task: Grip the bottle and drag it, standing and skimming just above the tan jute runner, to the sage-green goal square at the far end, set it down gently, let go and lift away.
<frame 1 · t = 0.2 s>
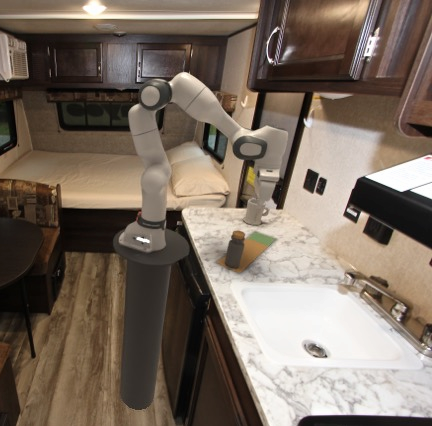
hand: (257, 203, 116), 26 cm above the worktop, tool pointing down, fingers open, 8 cm apart
cup: (253, 222, 160), on the worktop
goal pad: (261, 238, 143), on the worktop
runner: (243, 254, 130), on the worktop
bottle: (231, 264, 122), resting on runner
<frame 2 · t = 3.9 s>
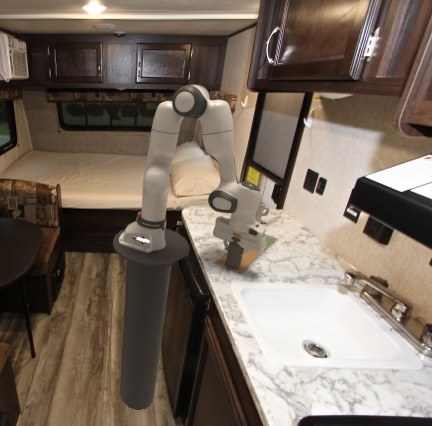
hand: (234, 253, 120), 6 cm above the worktop, tool pointing down, fingers closed on bottle, 5 cm apart
bottle: (232, 265, 122), resting on runner, touching gripper
everything else where it was.
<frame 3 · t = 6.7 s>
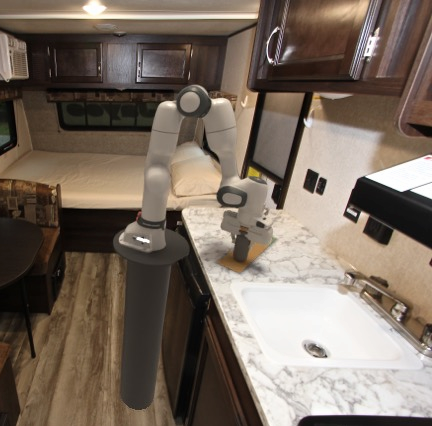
hand: (241, 245, 123), 7 cm above the worktop, tool pointing down, fingers closed on bottle, 5 cm apart
bottle: (239, 257, 125), point 1 cm above the worktop, touching gripper
everything else where it was.
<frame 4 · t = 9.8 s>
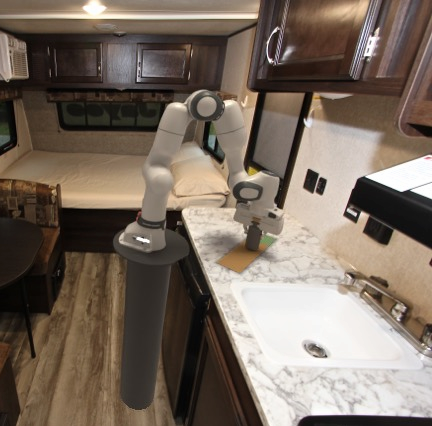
hand: (253, 236, 131), 7 cm above the worktop, tool pointing down, fingers closed on bottle, 5 cm apart
bottle: (251, 247, 133), point 1 cm above the worktop, touching gripper
everything else where it was.
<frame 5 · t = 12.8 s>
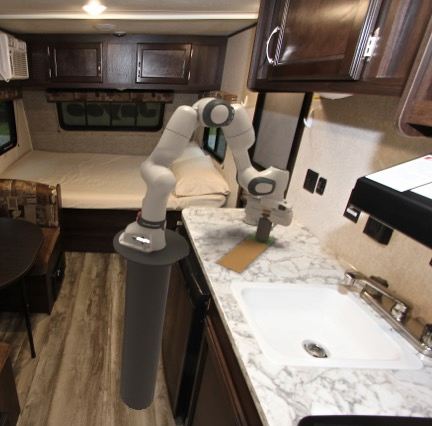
hand: (263, 227, 139), 7 cm above the worktop, tool pointing down, fingers closed on bottle, 5 cm apart
bottle: (261, 238, 141), point 1 cm above the worktop, touching gripper
everything else where it was.
when the fingers open (6 cm above the worktop, at t = 15.6 s): bottle stays where it is, resting on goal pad.
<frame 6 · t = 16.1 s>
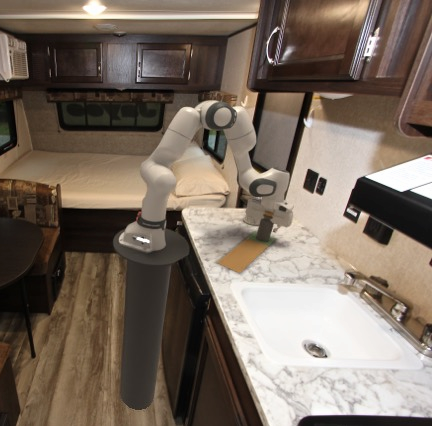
hand: (264, 228, 141), 6 cm above the worktop, tool pointing down, fingers open, 8 cm apart
bottle: (262, 239, 143), resting on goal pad
everything else where it was.
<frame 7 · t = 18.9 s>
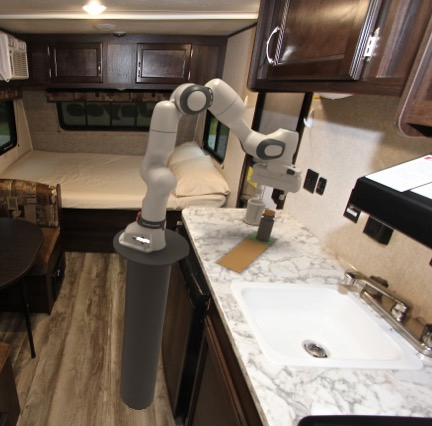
hand: (270, 196, 132), 23 cm above the worktop, tool pointing down, fingers open, 8 cm apart
nothing on the worktop moved.
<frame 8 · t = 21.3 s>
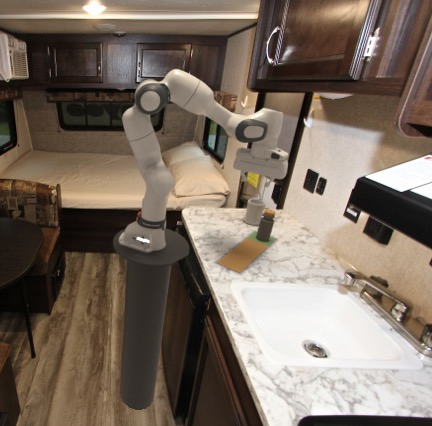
hand: (254, 183, 122), 31 cm above the worktop, tool pointing down, fingers open, 8 cm apart
nothing on the worktop moved.
at the end: bottle inside the target area on the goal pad (0.4 cm from its centre), point 0.0 cm above the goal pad's base; bottle tilted 0°; the gripper is holding nothing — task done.
